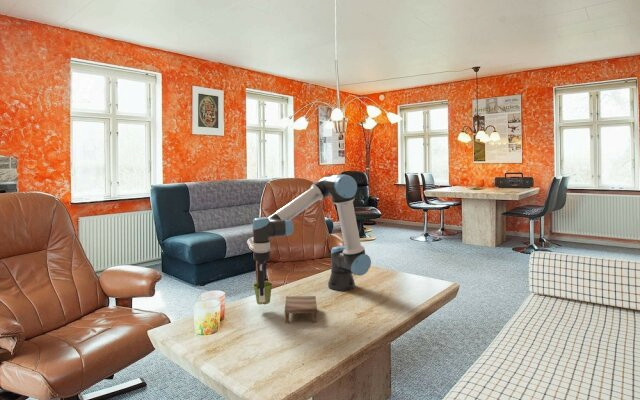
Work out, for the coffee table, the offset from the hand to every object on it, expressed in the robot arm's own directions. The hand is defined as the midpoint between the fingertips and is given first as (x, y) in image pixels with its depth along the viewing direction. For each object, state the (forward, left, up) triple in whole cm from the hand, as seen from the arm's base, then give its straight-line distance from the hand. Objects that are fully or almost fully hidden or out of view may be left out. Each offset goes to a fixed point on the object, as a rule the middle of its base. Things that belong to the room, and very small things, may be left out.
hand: (263, 298), depth 187 cm
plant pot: (0, 0, -2) cm, 2 cm away
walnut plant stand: (+6, +18, -6) cm, 20 cm away
